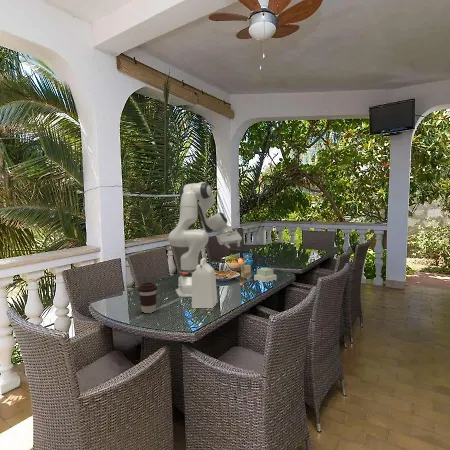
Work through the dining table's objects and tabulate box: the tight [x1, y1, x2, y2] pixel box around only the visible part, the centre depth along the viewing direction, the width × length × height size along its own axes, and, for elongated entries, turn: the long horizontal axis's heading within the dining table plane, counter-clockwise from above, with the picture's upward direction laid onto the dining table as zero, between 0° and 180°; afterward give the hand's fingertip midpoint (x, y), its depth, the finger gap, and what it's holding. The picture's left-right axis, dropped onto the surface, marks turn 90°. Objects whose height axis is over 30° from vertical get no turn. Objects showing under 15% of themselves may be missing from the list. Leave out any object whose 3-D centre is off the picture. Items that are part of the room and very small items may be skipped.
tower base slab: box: [253, 273, 277, 283], centre depth 246 cm, size 11×11×4 cm
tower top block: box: [256, 267, 274, 277], centre depth 246 cm, size 8×8×4 cm
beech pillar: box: [240, 264, 252, 279], centre depth 254 cm, size 5×5×9 cm
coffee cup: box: [137, 282, 158, 314], centre depth 187 cm, size 10×10×15 cm
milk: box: [191, 257, 218, 309], centre depth 194 cm, size 12×12×26 cm
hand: (234, 247), depth 263 cm, fingers open, 8 cm apart
